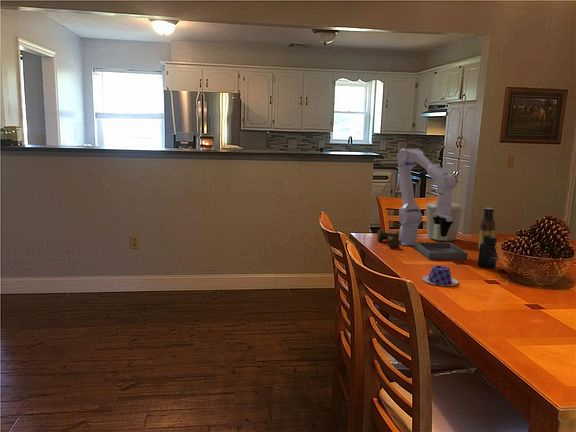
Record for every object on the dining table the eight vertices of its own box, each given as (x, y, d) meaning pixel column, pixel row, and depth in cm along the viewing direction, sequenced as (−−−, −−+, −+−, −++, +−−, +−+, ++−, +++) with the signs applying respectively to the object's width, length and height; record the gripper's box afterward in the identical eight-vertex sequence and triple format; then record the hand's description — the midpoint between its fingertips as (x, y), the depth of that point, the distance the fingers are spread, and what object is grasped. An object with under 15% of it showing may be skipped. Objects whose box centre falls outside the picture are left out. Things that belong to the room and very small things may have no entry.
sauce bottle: (490, 251, 203) (495, 207, 199) (495, 254, 197) (500, 209, 193) (475, 250, 203) (480, 206, 200) (479, 254, 197) (484, 208, 194)
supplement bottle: (493, 270, 173) (497, 239, 171) (475, 266, 177) (478, 236, 175) (498, 266, 179) (501, 236, 176) (480, 263, 183) (483, 234, 180)
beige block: (432, 237, 196) (433, 223, 195) (443, 237, 196) (444, 223, 195) (436, 240, 191) (437, 226, 190) (447, 240, 192) (448, 226, 191)
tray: (414, 248, 203) (415, 242, 203) (449, 249, 204) (450, 242, 204) (428, 259, 186) (429, 252, 185) (466, 260, 187) (467, 253, 186)
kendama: (382, 249, 203) (374, 238, 222) (404, 250, 203) (394, 239, 222) (384, 236, 201) (376, 226, 221) (405, 237, 201) (395, 227, 221)
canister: (416, 239, 222) (420, 196, 219) (430, 233, 237) (433, 193, 233) (454, 245, 212) (458, 200, 208) (465, 239, 226) (470, 197, 222)
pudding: (424, 274, 166) (425, 261, 165) (459, 279, 161) (460, 265, 160) (419, 284, 155) (421, 269, 154) (457, 290, 150) (458, 274, 149)
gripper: (428, 200, 198) (426, 231, 200) (441, 206, 184) (438, 238, 186) (444, 201, 198) (441, 231, 201) (458, 206, 184) (455, 239, 187)
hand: (441, 235), depth 194 cm, fingers closed on beige block, 4 cm apart
